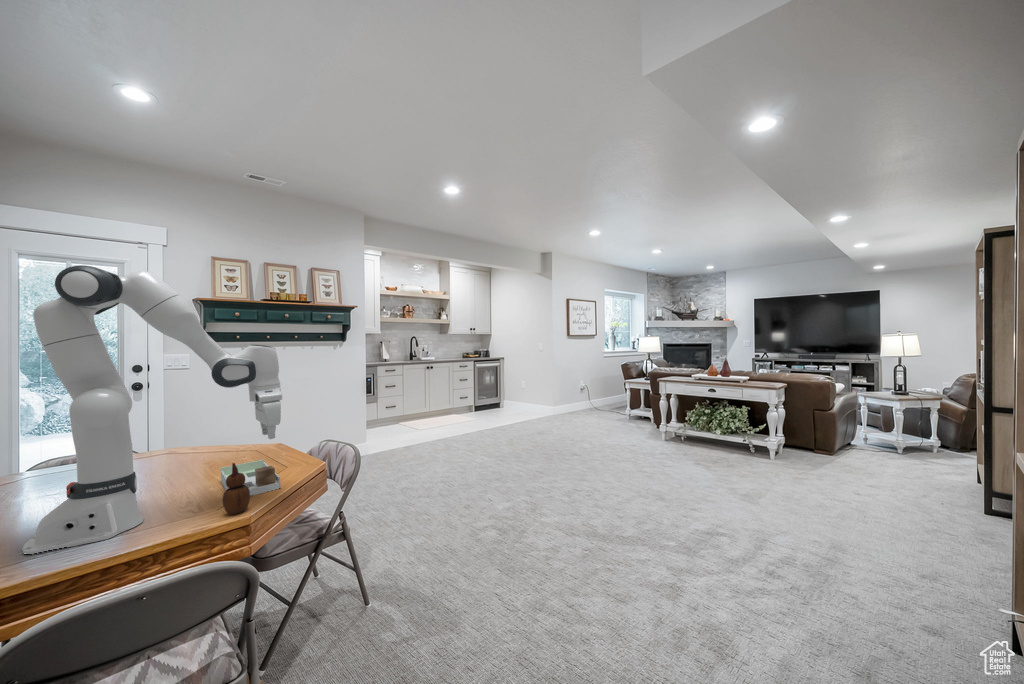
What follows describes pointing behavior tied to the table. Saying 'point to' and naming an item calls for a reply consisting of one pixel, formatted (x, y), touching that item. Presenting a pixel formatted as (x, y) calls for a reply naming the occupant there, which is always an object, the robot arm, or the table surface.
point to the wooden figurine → (236, 493)
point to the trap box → (250, 477)
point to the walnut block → (265, 476)
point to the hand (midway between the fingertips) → (268, 436)
